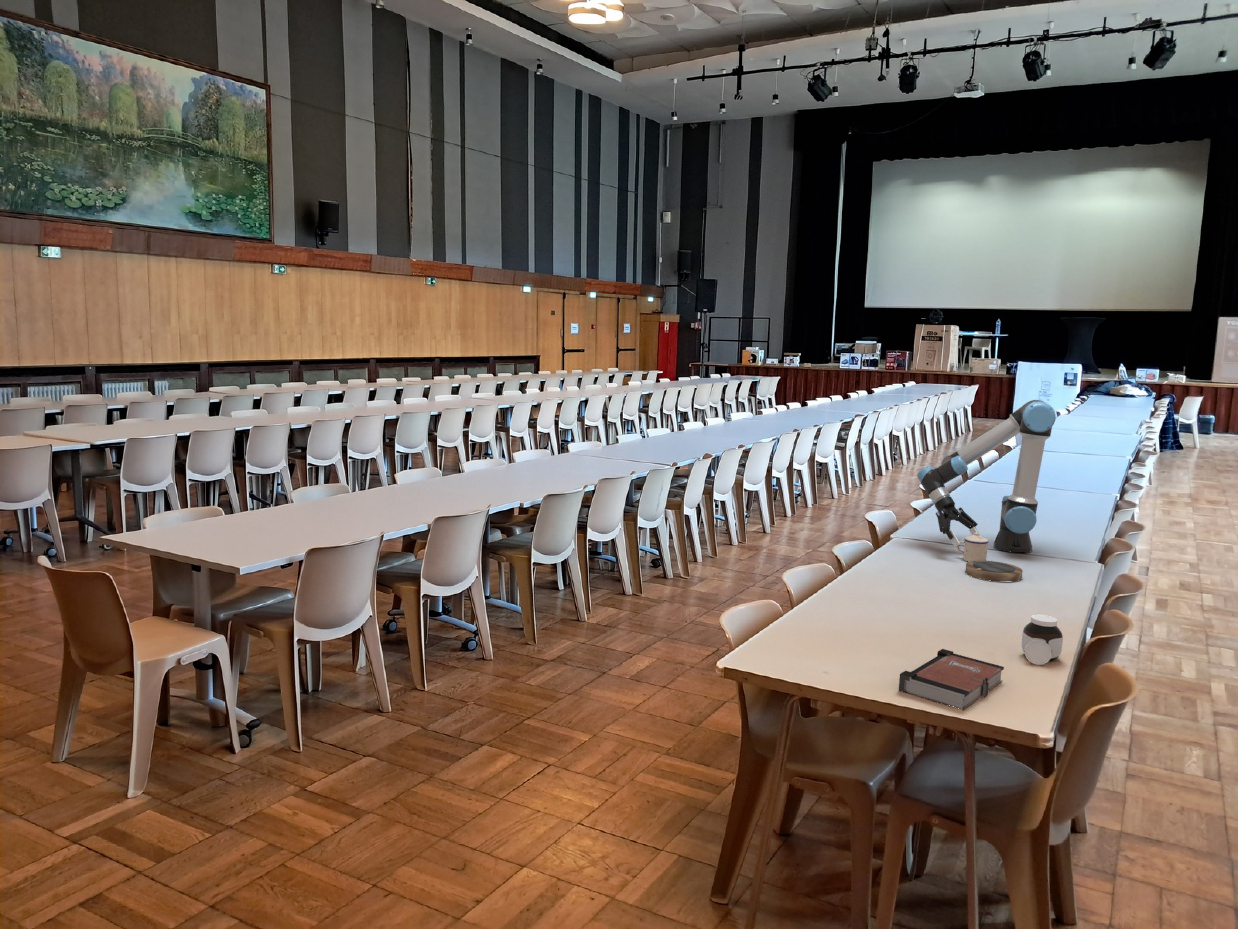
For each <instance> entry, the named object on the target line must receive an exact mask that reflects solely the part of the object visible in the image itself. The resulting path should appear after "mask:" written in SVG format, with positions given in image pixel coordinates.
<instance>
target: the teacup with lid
mask: <svg viewBox="0 0 1238 929" xmlns="http://www.w3.org/2000/svg"><path fill="white" fill-rule="evenodd" d="M978 532H979V531H978ZM978 532H975V533H974V535H972V534H971V535H969V536H968V535H967V536H965V538H964V540H960V541H959V542H960V544H964V547H963V548H964V549H963V551H962V550H961V549H960V544H959V545H958V546H957V547H956V549H957V552H959V553H960V554H963V560H964V561H965V562H967V561H968V562H971V561H987V557H988V556H987V555H988V545H989V539H988V538H986V537H984V536H983V535H981V534H980V532H979V533H978ZM968 562H967V563H968Z"/></svg>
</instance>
